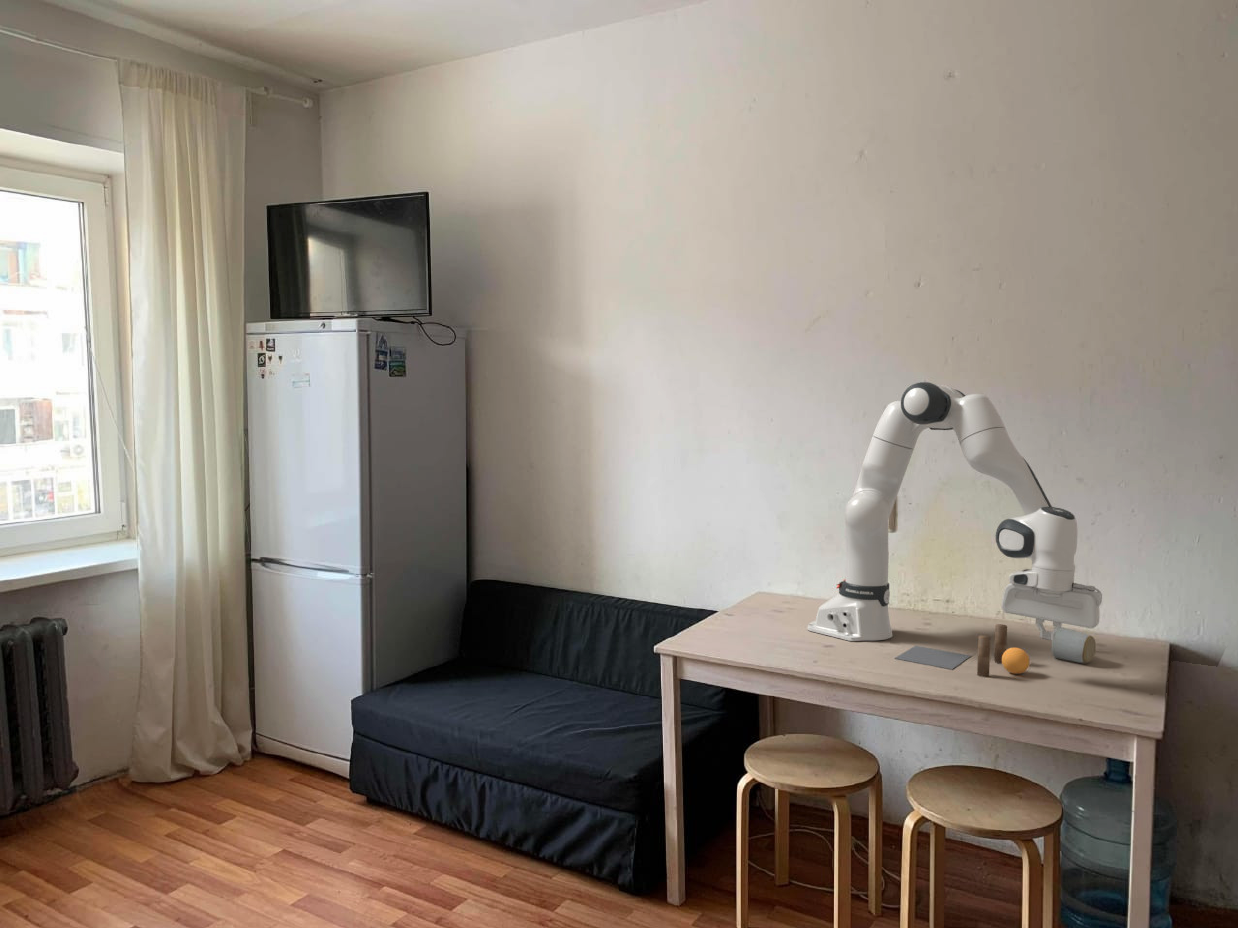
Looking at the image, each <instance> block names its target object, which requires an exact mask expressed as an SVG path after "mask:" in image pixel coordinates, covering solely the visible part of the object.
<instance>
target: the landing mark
mask: <svg viewBox="0 0 1238 928" xmlns="http://www.w3.org/2000/svg"><path fill="white" fill-rule="evenodd" d="M970 656H971V657H972V655H971V654H965V653H964V654H963V653H960V652H954V651H948V650H941V649H937V648H930V647H925V646H921V645H920V646H919V645H914V646H912V647H911V648H909V649H907V650H906V651H904V652H903V653H901V654H899V655H898V656H896V657H894V660H899V661H903V662H910V663H915V664H921V665H925V666H931V667H934V668H935V667H936V668H940V669H947V670H954V669H955V668H957V667H958V666H959V664H960V665H961V664H962V663H964V662H965V661H967V660H968V659H970V658H971V657H970ZM969 657H970V658H969ZM966 659H967V660H966ZM963 661H964V662H963Z"/></svg>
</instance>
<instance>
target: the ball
mask: <svg viewBox="0 0 1238 928" xmlns="http://www.w3.org/2000/svg"><path fill="white" fill-rule="evenodd" d="M1030 663H1031V662H1030V657H1029V655H1028V653H1027V652H1026V651H1025V650H1023V649H1022V648H1020V647H1010V648H1006V651H1005V652H1004V653H1003V655H1002V664H1001V665H1002V666H1003V668H1004V669H1005V670H1006V671H1008V672H1009V673H1010V674H1014V675H1018V674H1019V675H1020V674H1023V673H1025V672H1026V671H1027V670H1028V669H1029V667H1030Z"/></svg>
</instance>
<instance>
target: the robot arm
mask: <svg viewBox="0 0 1238 928" xmlns="http://www.w3.org/2000/svg"><path fill="white" fill-rule="evenodd" d="M926 429H930V430H932V431H951V430H953V431H954V433H955V435H956V438H957V441H958V443H959V445H960V448H961V450H962V453H963V455H964V458H965V461H967V463H968V464H969V466H970V467H971V468H972V469H973V470H975V471H976V472H978V473H979V474H980V473H981V474H983V475H986V476H989V477H992V478H994V479H995V480H997V481H1000V482H1002V483H1004V484H1005V485H1006V486H1008V487H1009V488H1010V490H1011V491H1012V492H1013V494H1014V495H1015V498H1016V499H1017V501H1018V504H1019V505H1020V507H1021V508H1022V509H1021V510H1022V511H1023V513H1024V515H1020V516H1015V517H1014V516H1013V517H1010V518H1006V519H1004V520H1002V521H1001V522H1000V523H999V524H998V526H997V529H996V531H995V543H996V546H997V548H998V550H999V551H1000V552H1001V554H1003V556H1004V555H1005V556H1006V557H1008V558H1012V559H1030V560H1031V568H1028V569H1027V568H1026V569H1022V570H1021V569H1020V570H1015V571H1014V572H1011V573H1010V574H1009V575H1008V582H1009V584H1007V585H1006V586H1005V588H1004V592H1003V595H1002V599H1001V600H1002V601H1001V609H1002V611H1003V612H1004V613H1005V614H1009V615H1010V614H1011V615H1015V616H1021V617H1025V618H1032V619H1035V625H1036V627H1037V628H1038V631H1039V639H1041V640H1045V641H1046V640H1047V641H1051V642H1052V641H1054V640H1055V634H1056V632H1057V631H1058V630H1059V628H1060V627H1062V624H1066V625H1070V626H1076V627H1080V628H1081V627H1082V628H1086V629H1095V628H1096V627H1098V625H1099V623H1100V605H1101V604H1102V600H1103V599H1102V598H1103V594H1102V592H1101V591H1100V590H1099V589H1098V588H1096V586H1094V585H1087V584H1082V583H1077V582H1075V571H1076V566H1075V561H1074V560H1075V554H1076V553H1077V550H1078V549H1077V548H1078V547H1077V546H1078V524H1077V519H1076V517H1075V514H1074V513H1072V512H1070V511H1069V510H1066V509H1064V508H1061V507H1055V506H1052V504H1051V502H1050V501H1049V498H1048V497H1047V495H1046V493H1045V491H1044V489H1043V488H1042V485H1041V483H1040V482H1039V480H1038V478H1037V476H1036V474H1035V472H1034V471H1033V469H1032V467H1031V466H1030V464H1029V463H1028V462H1027V460H1026V459H1025V458H1024V456H1022V455H1021V453H1020V452H1019V451H1018V449H1017V448H1016V446H1015V445H1014V443H1013V441H1012V440H1011V437H1010V435H1009V433H1008V431H1007V429H1006V426H1005V423H1004V422H1003V420H1002V418H1001V416H1000V414H999V412H998V410H997V409H996V407H995V405H994V404H993V402H992V400H991V399H990V398H989V397H987V396H986V395H984V394H982V393H981V394H980V393H971V394H967V395H966V394H964V393H963V392H962V391H960V390H958V389H955V388H952V387H950V386H947V385H945V384H936V383H932V382H928V381H923V382H916V383H913V384H911V385H910V386H909V387H907V388H906V389H905V390H904V392H903V394H902V396H901V399H900V400H895V401H892V402H890V403H889V404H887V406H886V407H885V409H884V411H883V413H882V414H881V416H880V417H879V420H878V422H877V424H876V426H875V429H874V432H873V433H872V437H871V440H870V442H869V445H868V448H867V450H866V453H865V457H864V459H863V462H862V465H861V468H860V471H859V475H858V479H857V480H856V481H857V482H856V483H855V487H854V491H853V494H852V496H851V498H850V499H849V500H848V502H847V503H846V504H845V509H844V535H845V536H844V539H845V578H844V579H843V580H841V581H840V582H839V583H837V584H836V588H835V589H838V593H837V594H835V595H834V596H832V597H831V598H830V599H828V600H826V602H823V603H822V604H821V605H820V606H819V608H818V609H817V612H816V613H817V614H816V616H815V620H813V621H811V622H809V623H808V624H807V628H806V629H807V631H809V632H813V633H817V634H821V635H826V636H829V637H834V638H837V639H842V640H845V641H849V642H860V641H861V642H862V641H883V640H888V639H891V638H892V637H893V631H892V626H891V621H890V615H889V614H890V613H889V603H890V593H891V592H890V583H889V559H890V557H889V555H890V554H889V519H890V516H891V513H892V511H893V508H894V506H895V503H896V500H897V497H898V495H899V491H900V488H901V485H902V484H903V481H904V478H905V474H906V471H907V469H908V466H909V463H910V460H911V458H912V455H913V453H914V450H915V448H916V444H917V442H918V441H917V440H918V438H919V436H920V434H922V432H923V431H924V430H926ZM1005 556H1004V557H1005ZM1045 621H1047V622H1052V626H1053V629H1052V631H1051V630H1046V629H1045V626H1044V623H1045Z"/></svg>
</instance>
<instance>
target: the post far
mask: <svg viewBox="0 0 1238 928" xmlns="http://www.w3.org/2000/svg"><path fill="white" fill-rule="evenodd" d="M994 630H995V631H994V633H995V634H994V635H995V636H994V659H993V662H994V661H995V662H994V663H996V662H997V664H1000V663H1002V655H1003V653H1004V652H1005V651H1006V650H1007V642H1008V641H1007V640H1008V639H1007V637H1008V636H1007V635H1008V625H1006V624H1002V623H1001V624H1000V623H996V624H995V629H994Z"/></svg>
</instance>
